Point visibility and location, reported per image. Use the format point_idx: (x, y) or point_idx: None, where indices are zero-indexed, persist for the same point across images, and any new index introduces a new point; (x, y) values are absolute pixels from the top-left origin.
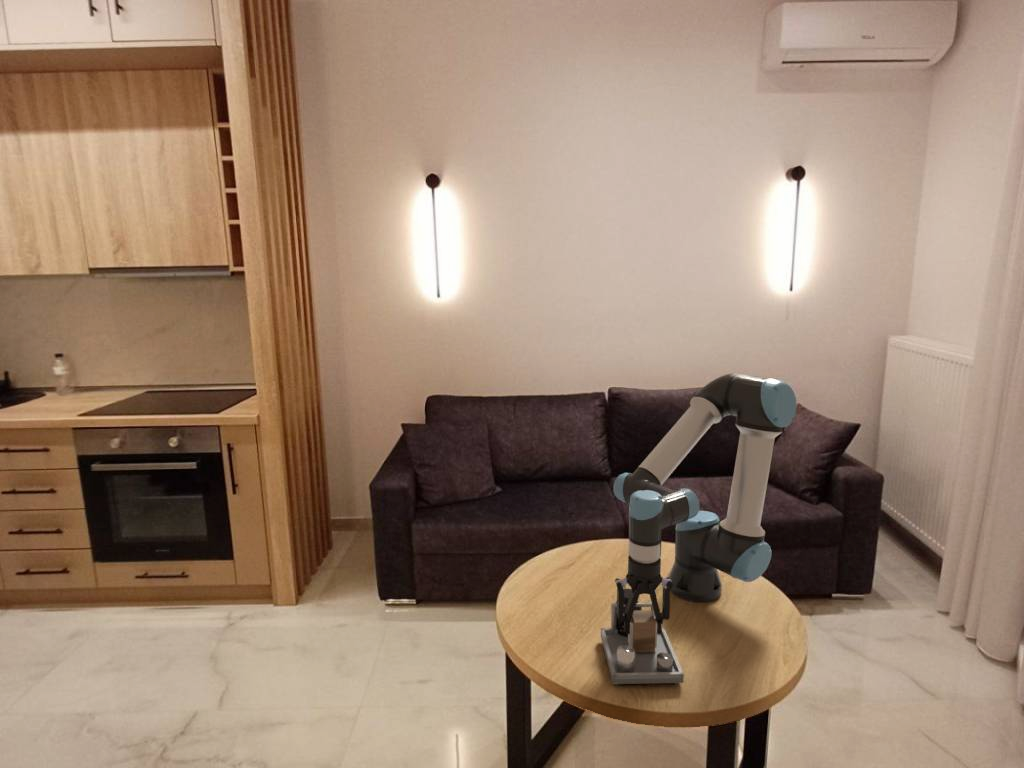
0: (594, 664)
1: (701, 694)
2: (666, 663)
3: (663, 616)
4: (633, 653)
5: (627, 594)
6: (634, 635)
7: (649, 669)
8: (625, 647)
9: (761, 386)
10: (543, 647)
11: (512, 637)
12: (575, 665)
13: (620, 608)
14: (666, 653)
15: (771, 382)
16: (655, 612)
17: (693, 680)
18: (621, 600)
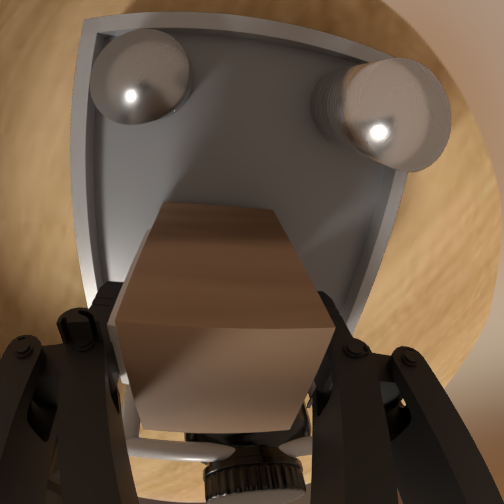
0: (399, 211)
1: (63, 8)
2: (147, 30)
3: (50, 368)
4: (378, 69)
5: (266, 498)
6: (297, 258)
7: (233, 84)
8: (402, 145)
9: None
10: (463, 294)
11: (482, 322)
12: (444, 216)
13: (451, 425)
14: (113, 114)
15: None
16: (103, 415)
17: (56, 77)
18: (476, 485)
